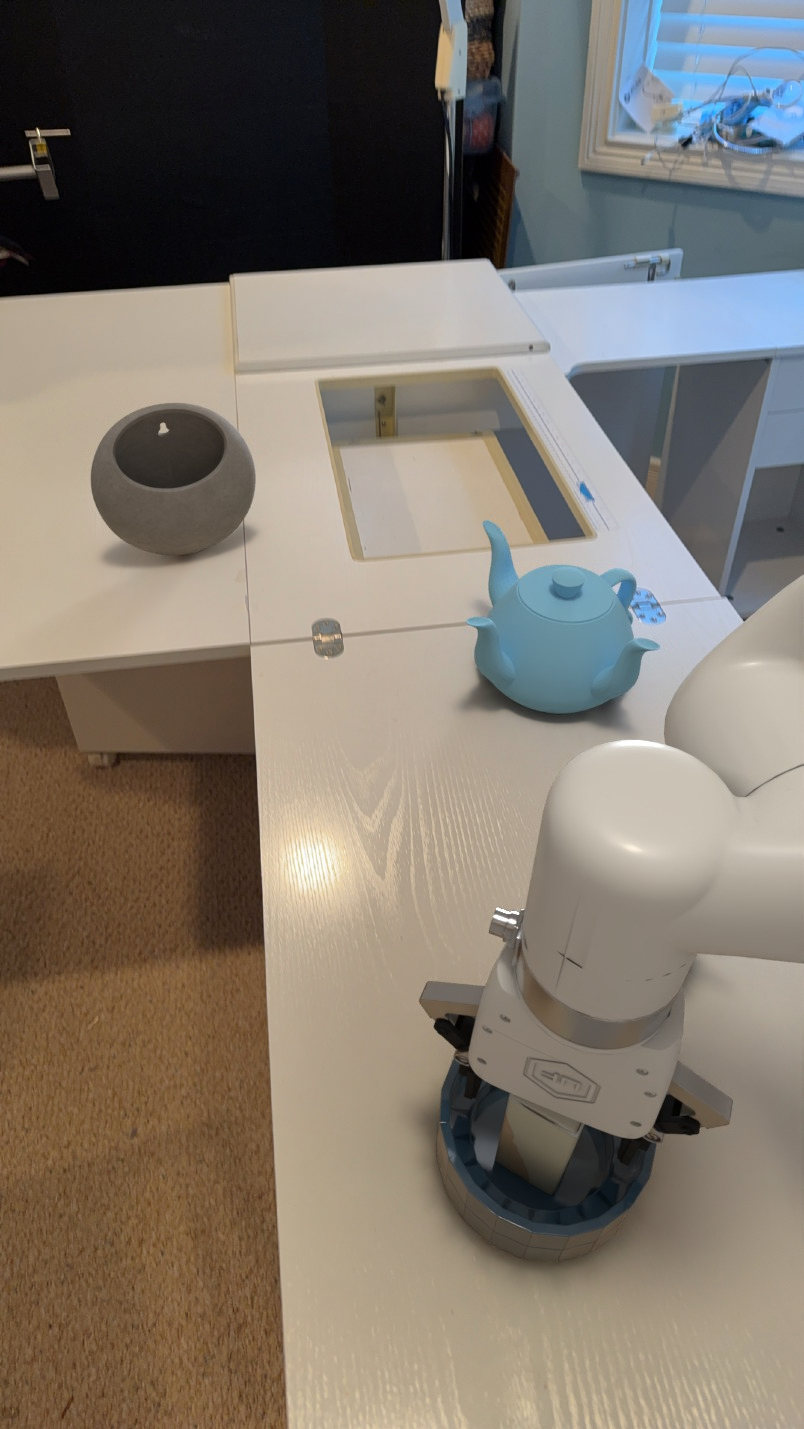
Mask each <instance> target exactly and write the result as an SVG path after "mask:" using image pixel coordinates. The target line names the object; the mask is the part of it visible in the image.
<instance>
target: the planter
mask: <svg viewBox="0 0 804 1429" xmlns="http://www.w3.org/2000/svg"><path fill="white" fill-rule="evenodd" d="M161 424H165V428H166V429H167V430H168V431H166V432H160V431H161ZM256 477H257V474H256V467H255V461H254V459H253V455H252V453H251V450H250V448H249V446H248V444H247V442H246V441H245V439H244V437H243V436H242V435H241V433H240V432H239V431H238V429H236V427H235V426H234V425H233V424H232V423H231V422H230V421H229V420H227V419H226V418H225V417H223V416H222V415H220V413H217V412H215V411H213V410H211V409H209V408H207V407H204V406H200V405H198V404H193V403H184V402H164V403H157V404H152V405H148V406H145V407H142V408H139V409H136V410H135V411H132V412H130V413H128V414H127V415H125V416H123V417H122V418H120V419H119V420H118V421H117V422H115V423H114V424H113V426H111V427H110V428H109V429H108V430H107V432H106V433H105V434H104V435H103V436H102V438H101V440H100V442H99V443H98V446H97V448H96V451H95V453H94V456H93V459H92V462H91V468H90V488H91V494H92V499H93V502H94V504H95V507H96V509H97V512H98V513H99V516H100V517H101V519H102V520H103V522H104V523H105V525H106V526H107V527H108V528H109V530H110V531H112V533H113V534H114V535H115V536H117V537H118V538H119V539H120V540H122V541H123V542H125V543H126V544H127V545H130V546H131V547H134V548H136V549H137V550H141V551H144V552H146V553H151V554H154V555H162V556H183V555H189V554H195V553H199V552H201V551H205V550H207V549H209V548H211V547H214V546H215V545H217V544H219V543H221V542H223V541H224V540H225V539H226V538H228V537H229V536H231V534H233V533H234V532H235V531H236V530H237V529H238V528H239V527H240V526H241V524H242V523H243V521H244V520H245V518H246V516H247V515H248V513H249V511H250V509H251V506H252V503H253V501H254V498H255V497H254V496H255V492H256V481H257V480H256V479H257V478H256Z"/></svg>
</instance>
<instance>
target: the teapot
mask: <svg viewBox="0 0 804 1429" xmlns="http://www.w3.org/2000/svg"><path fill="white" fill-rule="evenodd" d="M482 527H483V529H484V531H485V533H486V535H487V538H488V541H489V543H490V549H491V550H490V551H491V559H490V567H489V574H488V589H487V590H488V596H489V600H490V603H491V605H492V608H491V610H490V611H489V613H488V614H487V616H486V617H485V616H473V617H470V618H467V619H466V621H465V623H466V624H467V625H469V626H470V627H473V628H474V629H476V630H477V637H476V642H475V645H474V646H475V647H474V651H473V658H474V662H475V665H476V668H477V669H478V671H479V673H481V674H482V675H483V676H484V677H485V678H486V679H487V680H489V681H490V683H491V684H492V685H494V687H495V688H496V689H498V691H500V692H501V693H502V694H503V695H504V696H506V697H507V698H509V699H510V700H511V701H513V702H515V703H517V704H519V705H520V706H522V707H525V708H527V709H529V710H533V711H536V712H540V713H545V714H554V715H555V714H556V715H565V714H576V713H579V712H584V711H588V710H590V709H594V708H596V707H598V706H601V705H602V704H605V703H607V702H609V701H610V700H612V699H615V698H618V697H620V696H623V695H624V694H626V693H628V692H629V691H630V690H631V689H632V688H634V686H635V685H636V683H637V681H638V679H639V676H640V674H641V673H640V672H641V666H642V665H641V664H642V660H643V656H644V655H645V653H647V652H650V651H651V652H652V651H653V652H654V651H658V650H659V649H660V648H661V646H660V644H659V643H657V642H656V641H654V640H651V639H649V638H645V637H636V638H635V636H634V631H633V627H632V625H633V621H634V617H633V614H632V612H631V611H630V609H629V608H630V606H631V603H632V602H633V600H634V597H635V594H636V591H637V585H638V584H637V579H636V578H635V576H634V574H632V573H631V572H630V571H629V570H628V569H625V568H621V567H615V568H611V569H608V570H606V571H605V572H603V573H602V574H597V573H595V572H593V571H591V570H589V569H587V568H584V567H580V566H576V565H571V564H549V565H543V566H539V567H537V568H534V569H532V570H530V571H528V572H527V573H525V574H524V575H523V576H521V577H519V575H518V574H517V570H516V569H515V565H514V561H513V557H512V552H511V549H510V545H509V542H508V539H507V537H506V535H505V533H504V532H503V530H502V529H501V528H500V527H499V526H498V525H497V524H496V523H494V522H493V521H491V520H489V519H486V520H483V521H482ZM618 584H620V585H619V588H618V591H617V593H616V591H615V590H614V588H613V587H615V586H616V585H618Z"/></svg>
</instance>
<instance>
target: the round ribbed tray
mask: <svg viewBox="0 0 804 1429" xmlns="http://www.w3.org/2000/svg"><path fill="white" fill-rule="evenodd" d="M459 1065H460V1063H458V1062H457V1061H456V1060H455V1059H454V1058H453V1059H452V1060H451V1064H450V1065H449V1068H448V1071H447V1074H446V1075H445V1077H444V1078H445V1079H444V1081H443V1084H442V1086H441V1090H440V1091H441V1092H440V1099H439V1111H438V1121H437V1133H436V1134H437V1135H436V1136H437V1137H436V1157H437V1163H438V1167H439V1170H440V1175H441V1178H442V1182H443V1186H444V1188H445V1191H446V1192H447V1194H448V1196H449V1197H450V1199H451V1201H452V1202H453V1205H454V1206H455V1207H456V1210H457V1211H458V1213H459V1215H460V1216H461V1218H463V1220H464V1221H465V1223H467V1224H468V1225H469V1226H470V1227H471V1228H472V1229H474V1230H475V1232H476V1233H477V1234H478V1235H480V1236H481V1237H482V1238H483V1239H484V1240H485V1241H486V1242H487V1243H489V1244H490V1245H492V1246H494V1247H496V1248H498V1249H501V1250H503V1251H504V1252H507V1253H509V1254H512V1255H513V1256H515V1257H518V1258H520V1259H523V1260H531V1261H540V1262H542V1261H543V1262H551V1263H557V1262H558V1263H559V1262H562V1261H567V1260H570V1259H573V1258H577V1257H581V1256H585V1255H588V1254H591V1253H592V1252H594V1251H595V1250H596V1249H598V1248H599V1247H600V1246H601V1245H603V1244H605V1242H607V1241H608V1240H609V1239H610V1238H612V1237H613V1236H614V1235H615V1234H616V1233H617V1232H618V1231H619V1229H620V1227H621V1226H622V1224H623V1222H624V1221H625V1219H626V1217H627V1216H628V1214H629V1213H630V1211H631V1209H632V1208H633V1207H634V1206H635V1203H636V1202H637V1200H638V1198H639V1197H640V1195H641V1193H642V1192H643V1190H644V1189H645V1186H646V1185H647V1183H648V1182H649V1180H650V1179H651V1176H652V1171H653V1167H654V1166H653V1165H654V1162H655V1161H654V1160H655V1156H656V1150H657V1144H658V1143H651V1145H650V1147H649V1149H648V1150H647V1152H646V1151H644V1150H642V1149H639V1148H638V1150H637V1151H636V1153H635V1155H634V1157H633V1159H632V1161H631V1162H630V1164H629V1166H627V1165H625V1164H622V1163H620V1160H619V1159H617V1155H618V1151H619V1147H620V1142H621V1138H622V1137H619V1136H615V1135H612V1134H609V1133H606V1132H604V1131H601V1130H599V1129H596V1128H593V1127H591V1126H589V1125H586V1124H585V1125H584V1127H583V1129H582V1132H581V1134H580V1137H579V1139H578V1141H577V1144H576V1146H575V1149H574V1151H573V1153H572V1155H571V1158H570V1160H569V1162H568V1164H567V1167H566V1169H565V1171H564V1173H563V1176H562V1178H561V1180H560V1182H559V1184H558V1186H557V1189H556V1191H555V1193H554V1194H553V1195H549V1194H547V1193H545V1192H544V1191H542V1190H540V1189H539V1188H537V1187H535V1186H533V1185H532V1184H530V1183H528V1182H527V1181H525V1180H524V1179H522V1178H520V1177H519V1176H517V1175H516V1174H514V1173H513V1172H511V1171H509V1170H508V1169H506V1168H505V1167H503V1166H502V1165H500V1164H499V1163H497V1162H496V1161H495V1156H496V1152H497V1147H498V1143H499V1138H500V1134H501V1130H502V1126H503V1121H504V1117H505V1113H506V1109H507V1104H508V1100H509V1095H510V1093H509V1092H507V1091H505V1090H502V1089H500V1088H498V1087H496V1086H494V1085H492V1084H490V1083H488V1082H486V1081H484V1080H482V1083H481V1086H480V1088H479V1091H478V1094H477V1097H476V1099H474V1098H472V1100H471V1099H468V1098H466V1097H464V1092H465V1085H466V1078H467V1077H466V1076H463V1075H461V1074H459Z"/></svg>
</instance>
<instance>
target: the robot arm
mask: <svg viewBox="0 0 804 1429" xmlns="http://www.w3.org/2000/svg"><path fill="white" fill-rule="evenodd" d="M663 737H664V743H661V742H656V741H653V740H642V739H620V740H613V741H608V742H605V743H601V744H598V745H594V746H592V747H590V748H588V749H586V750H584V751H582V752H581V753H578V754H577V755H576V756H575V757H573V758H572V759H571V760H570V761H568V762H567V763H566V764H565V765H564V766H563V767H562V769H561V770H560V771H559V772H558V774H557V775H556V777H555V778H554V781H553V782H552V784H551V785H550V788H549V790H548V792H547V795H546V796H547V797H546V800H545V803H544V807H543V810H542V816H541V821H540V826H539V832H538V838H537V843H536V850H535V854H534V860H533V865H532V869H531V874H530V875H531V876H530V881H529V886H528V892H527V896H526V903H525V908H520V910H519V911H518V910H515V909H512V910H511V911H510V910H507V909H504V908H502V907H498V906H497V907H496V908H495V910H494V913H493V915H492V918H491V921H490V925H489V928H488V934H490V935H493V936H495V937H498V938H500V939H502V943H505V944H504V946H503V948H502V949H501V951H500V953H499V955H498V957H497V959H496V961H495V962H494V964H493V966H492V968H491V970H490V972H489V975H488V978H487V980H486V983H485V985H475V984H467V983H465V984H464V983H454V982H445V981H437V980H435V981H434V980H428V981H426V983H425V985H424V988H423V990H422V992H421V995H419V996H420V997H419V999H418V1003H419V1004H420V1006H421V1007H422V1009H423V1010H424V1011H425V1013H426V1015H427V1016H428V1018H430V1019H433V1021H434V1023H433V1029H434V1031H436V1033H437V1034H438V1035H439V1036H441V1037H442V1038H443V1039H444V1040H445V1041H446V1042H448V1044H450V1046H452V1047H453V1048H454V1049H455V1050H454V1053H453V1055H452V1057H453V1059H455V1060H456V1061H457V1062H458V1063H460V1065H459V1074H461V1075H463V1076H466V1077H467V1078H466V1085H465V1092H464V1097H466V1098H468V1099H471V1100H472V1098H474V1099H476V1097H477V1094H478V1091H479V1088H480V1086H481V1083H482V1080H484V1081H486V1082H488V1083H490V1084H492V1085H494V1086H496V1087H498V1088H500V1089H502V1090H505V1091H507V1092H509V1093H511V1094H514V1095H516V1096H518V1097H521V1098H523V1099H525V1100H528V1101H530V1102H533V1103H535V1104H537V1105H540V1106H542V1107H544V1108H547V1109H549V1110H552V1111H554V1112H557V1113H559V1114H561V1115H564V1116H566V1117H569V1118H571V1119H574V1120H576V1121H579V1122H581V1123H584V1124H586V1125H589V1126H591V1127H593V1128H596V1129H599V1130H601V1131H604V1132H606V1133H609V1134H612V1135H615V1136H619V1137H622V1138H621V1142H620V1147H619V1151H618V1155H617V1159H619V1160H620V1163H622V1164H625V1165H627V1166H629V1164H630V1162H631V1161H632V1159H633V1157H634V1155H635V1153H636V1151H637V1150H638V1148H639V1149H642V1150H644V1151H646V1152H647V1150H648V1149H649V1147H650V1145H651V1143H657V1144H662V1143H663V1142H664V1137H665V1135H681V1136H682V1135H685V1136H690V1137H691V1136H696V1135H699V1134H700V1132H701V1129H702V1128H705V1129H706V1130H709V1129H715V1128H720V1127H725V1126H728V1125H730V1123H731V1119H732V1118H731V1117H732V1111H733V1105H734V1100H733V1099H732V1097H731V1096H729V1095H728V1094H727V1093H725V1092H723V1091H722V1090H721V1089H719V1088H718V1087H717V1086H715V1085H714V1084H712V1083H711V1082H709V1081H708V1080H706V1079H705V1078H704V1077H702V1076H701V1075H699V1074H698V1073H696V1072H695V1071H693V1069H691V1068H690V1067H688V1066H686V1065H685V1064H684V1063H682V1062H681V1061H679V1057H680V1054H681V1049H682V1044H683V1043H682V1042H683V1037H684V1023H685V1014H686V1013H685V1012H686V995H685V988H684V985H683V984H684V981H685V980H686V978H687V975H688V973H689V971H690V969H691V967H692V965H693V963H694V961H695V958H696V956H697V955H709V956H726V957H738V958H739V957H740V958H749V959H757V960H766V961H776V962H782V963H783V962H784V963H792V964H793V963H795V964H802V965H804V574H802V575H800V576H799V577H798V578H796V579H795V580H794V581H791V583H789V584H788V585H786V586H785V587H784V588H783V589H781V590H780V591H779V592H777V593H776V594H775V595H773V596H772V597H771V598H770V599H768V601H767V602H765V603H764V604H763V605H762V606H761V607H759V608H758V609H757V610H756V611H755V612H754V613H753V614H751V615H750V616H749V617H748V618H746V620H744V621H743V622H742V623H741V624H739V625H738V626H737V627H736V628H735V629H734V630H732V631H731V632H730V633H729V634H728V635H726V636H725V638H723V639H722V640H721V641H720V642H719V643H718V644H717V645H715V646H714V647H713V649H711V651H709V653H708V654H706V655H705V656H704V657H703V658H702V659H701V660H699V662H698V663H697V664H696V665H695V666H694V667H693V668H692V669H691V671H690V672H688V674H687V675H686V677H685V678H684V679H683V681H682V682H681V684H680V685H679V686H678V687H677V689H676V691H675V692H674V694H673V696H672V699H671V701H670V702H669V704H668V707H667V710H666V712H665V717H664V726H663Z"/></svg>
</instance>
